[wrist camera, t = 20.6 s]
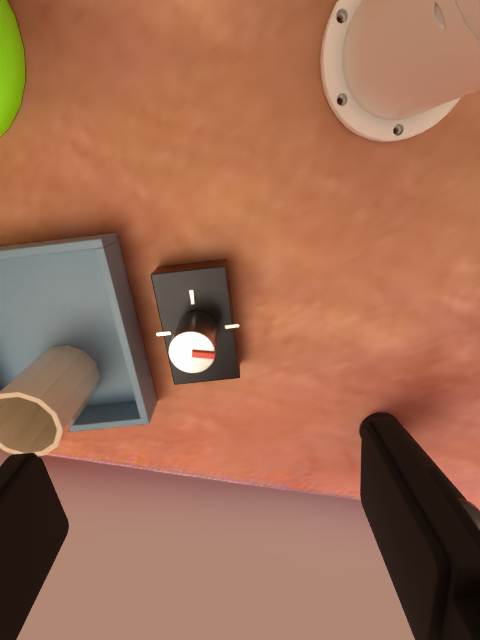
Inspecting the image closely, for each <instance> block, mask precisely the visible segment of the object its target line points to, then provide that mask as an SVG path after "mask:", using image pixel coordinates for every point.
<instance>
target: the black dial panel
mask: <svg viewBox="0 0 480 640" xmlns="http://www.w3.org/2000/svg"><path fill="white" fill-rule="evenodd" d="M151 279H152V283H153V288H154V293H155V297H156V302H157V306H158V311H159V316H160V320H161V325H162V330H163V332H157V333H156V334H157V336H164V339H165V344H166V348H167V353H168V349H169V345H170V342H171V340H172V337H173V335H174V333H175V330H176V328H177V325H178V323H179V321H180V319H181V318H182V317H183V316H184V315H185V314H187V313H189V312H192V311H202V312H205V313H207V314H209V315H210V316H212V317H213V318H214V320H215V321H216V323H217V326H218V338H217V346H216V354H215V359H214V361H213V363H212V364H211V366H210V367H209V368H207V369H206V370H204V371H202V372H198V373H187V372H184V371H181V370H180V369H178V368H177V367H176V366H174V364H173V363H172V362H171V360H170V358H169V354H168V358H169V362H170V367H171V372H172V376H173V381H174V384H175V385H177V384H186V383H196V382H205V381H215V380H224V379H234V378H240V362H239V354H238V346H237V339H236V331H235V328H237V327H240V326H239V323H238V324H235V323H234V315H233V308H232V300H231V292H230V284H229V277H228V269H227V261H226V260H216V261H207V262H199V263H190V264H181V265H173V266H164V267H158V268H157V269H156V270H155V271H154V272H153V273H152V274H151Z"/></svg>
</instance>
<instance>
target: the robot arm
mask: <svg viewBox="0 0 480 640" xmlns="http://www.w3.org/2000/svg"><path fill="white" fill-rule="evenodd" d="M337 18H340V19H341V21H342V23H339V22H338V21H337ZM320 70H321V79H322V84H323V90H324V93H325V95H326V98H327V101H328V103H329V106H330V107H331V109H332V111H333V112H334V114H335V115H336V117H337V118H338V119H339V120H340V121H341V123H342V124H343V125H344V126H345V127H346V128H347V129H349V130H350V131H352V132H353V133H355V134H356V135H358V136H361V137H363V138H366V139H368V140H372V141H379V142H391V141H399V140H403V139H407V138H410V137H413V136H415V135H418V134H420V133H423V132H424V131H426V130H428V129H429V128H431V127H432V126H434V125H436V124H437V123H438V122H439V121H440V120H441V119H443V118H444V117H445V116H446V115H447V114H448V113H449V112H450V111H451V110H452V108H453V107H454V106H455V105H456V104H457V103H458V101H459V100H460V98H461V97H463V96H465V95H468V94H470V93H473V92H475V91H478V90H480V0H338V1H337V3H336V5H335V7H334V9H333V11H332V13H331V15H330V17H329V20H328V22H327V26H326V29H325V32H324V36H323V40H322V47H321V55H320ZM337 99H341V100H342V104H341V105H339V104H338V103H337ZM394 128H395V129H396V134H394V133H393V129H394ZM360 495H361V502H362V505H363V508H364V511H365V514H366V516H367V519H368V521H369V524H370V526H371V529H372V531H373V534H374V537H375V539H376V542H377V544H378V547H379V549H380V552H381V554H382V556H383V559H384V562H385V564H386V567H387V569H388V572H389V574H390V577H391V580H392V582H393V585H394V587H395V590H396V592H397V595H398V597H399V600H400V602H401V605H402V608H403V610H404V612H405V615H406V618H407V620H408V623H409V625H410V628H411V630H412V633H413V635H414V638H415V640H480V529H479V528H478V527H477V525H476V524H475V522H474V521H473V520H472V518H471V517H470V515H469V514H468V512H467V511H466V510H465V508H464V507H463V505H462V504H461V503H460V501H459V500H458V498H457V497H456V496H455V494H454V493H453V491H452V490H451V488H450V487H449V486H448V484H447V483H446V481H445V480H444V479H443V477H442V476H441V474H440V473H439V472H438V470H437V469H436V468H435V467H434V466H433V465H431V464H423V465H422V463H421V462H420V460H419V459H418V457H417V456H416V454H415V453H414V451H413V450H412V448H411V447H410V445H409V444H408V442H407V441H406V439H405V438H404V436H403V435H402V433H401V432H400V430H399V429H398V427H397V426H396V424H395V423H394V421H393V420H392V419H391V418H390V417H386V418H376V419H369V420H368V425H363V426H362V445H361V489H360ZM68 528H69V524H68V519H67V517H66V515H65V512H64V510H63V507H62V505H61V503H60V500H59V498H58V496H57V493H56V491H55V489H54V487H53V484H52V481H51V479H50V477H49V474H48V472H47V470H46V467H45V465H44V462H43V460H42V459H41V458H40V457H37V455H36V454H35V453H23V454H14V455H11V456H9V457H8V458H7V459H6V460H5V461H4V463H3V464H2V465H1V466H0V640H16V639H17V637H18V635H19V633H20V631H21V629H22V626H23V625H24V622H25V620H26V618H27V616H28V614H29V612H30V610H31V608H32V606H33V604H34V602H35V600H36V598H37V595H38V594H39V591H40V589H41V587H42V585H43V583H44V581H45V579H46V577H47V575H48V573H49V571H50V569H51V567H52V565H53V563H54V561H55V558H56V556H57V554H58V552H59V550H60V548H61V546H62V544H63V542H64V540H65V538H66V536H67V533H68Z"/></svg>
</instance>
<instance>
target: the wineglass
mask: <svg viewBox="0 0 480 640" xmlns="http://www.w3.org/2000/svg"><path fill="white" fill-rule="evenodd" d="M25 80H26V76H25V58H24V47H23V44H22V40H21V36H20V32H19V29H18V25H17V21H16V18H15V15H14V13H13V11H12V9H11V7H10V5H9V3H8V1H7V0H0V136H1V135H2V134H4V133H5V132H6V131H7V130H8V129H9V128H10V126H11V124H12V122H13V120H14V118H15V116H16V114H17V112H18V110H19V108H20V106H21V101H22V96H23V91H24V86H25Z"/></svg>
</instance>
